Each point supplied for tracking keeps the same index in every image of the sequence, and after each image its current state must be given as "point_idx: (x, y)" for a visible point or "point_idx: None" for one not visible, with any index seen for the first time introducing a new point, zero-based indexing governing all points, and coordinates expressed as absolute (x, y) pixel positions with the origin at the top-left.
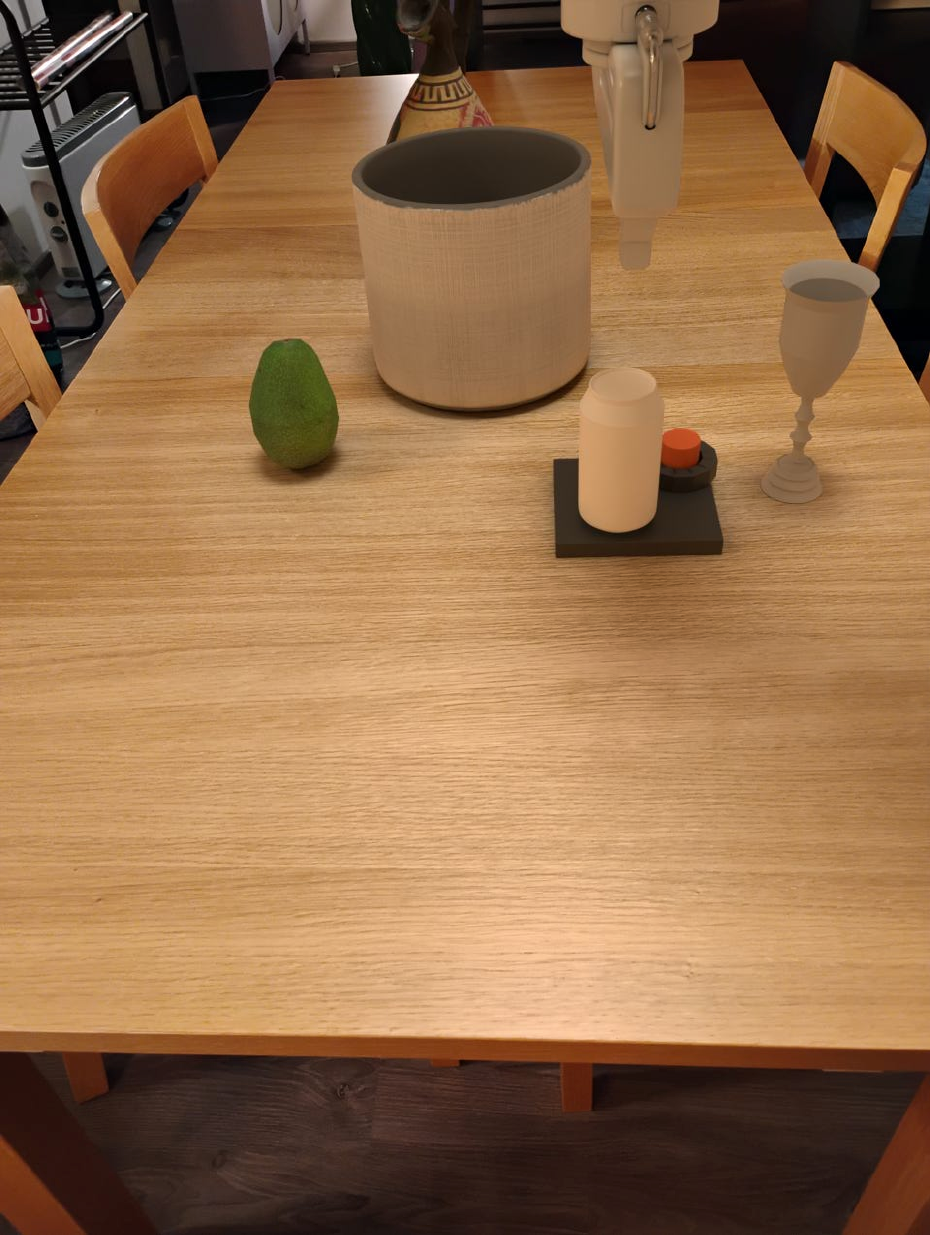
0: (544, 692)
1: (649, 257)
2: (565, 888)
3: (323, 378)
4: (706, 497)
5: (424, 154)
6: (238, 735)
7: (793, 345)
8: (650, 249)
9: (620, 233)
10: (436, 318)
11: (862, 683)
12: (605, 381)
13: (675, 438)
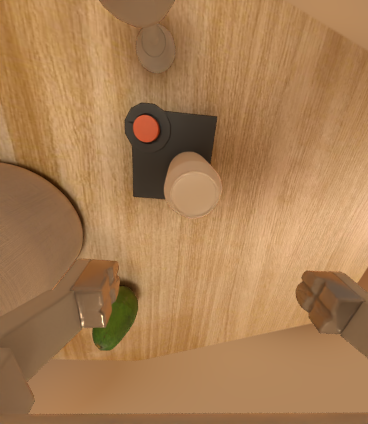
0: (280, 210)
1: (353, 281)
2: (360, 210)
3: (110, 316)
4: (177, 117)
5: None
6: (268, 292)
7: (161, 10)
8: (364, 290)
9: (321, 332)
10: (52, 281)
11: (324, 67)
12: (185, 206)
13: (145, 132)
